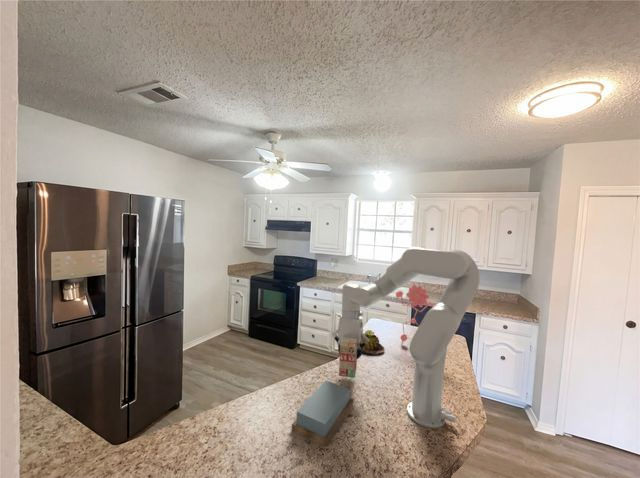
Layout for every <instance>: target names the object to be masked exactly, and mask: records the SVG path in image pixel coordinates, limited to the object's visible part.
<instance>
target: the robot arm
mask: <svg viewBox="0 0 640 478" xmlns="http://www.w3.org/2000/svg"><path fill="white" fill-rule="evenodd" d="M419 275H422V276H427V277H429V276H430V277H435V278H441V279H443V278H444V279H448V280H449V281H448V284H446V287H445V289H444V290H443V292H442V295H441V296H440V298H439V299H438V301H437V302H436V304H435V305H434V306H433V307H432V306H431V308H430V309H429V310H428V311H427V312H426V314H425V315H424V317H423V318H422V320H421V322H420V324H419V326H418V327H417V329H416V332H415V333H414V334H413V336H412V338H411V339H410V343H409V353H410V355H411V357H412V359H413V360H414V372H413V383H412V384H413V386H412V398H411V399H412V400H411V401H410V402H409V403H408V404H407V406H406V412H407V415H408V416H409V418H410V420H412V421H413V422H415V423H416V424H417V425H420V426H423V427H425V428H430V429H439V428H442V427H443V426H444V425H445V423H446V421H449V422H452V423H456V415H453V414H452V413H453V412H452V411H451V410H448V409H445V408H444V407H443V402H442V401H443V390H444V389H443V388H444V377H445V365H446V358H447V350H448V346H449V344H450V342H451V341H452V340H453V337H454V336H455V334H456V332H457V330H458V329H459V327H460V325H461V322H462V319H463V317H465V316H464V315H465V314H466V313H467V310H468V309H469V308H470V307H469V306H470V305H471V303H472V301H473V300H474V298H475V296H476V293H477V292H478V288H479V287H480V286H479V285H480V279H481V277H480V271H479V267H478V265H477V263H476V261H475V260H474V259H473V258H472V256H471V255H469V254H468V253H467V252H465V251H463V250H461V249H460V250H459V249H455V250H454V249H453V250H450V251H448V250H438V249H430V248H429V249H428V248H426V247H424V246H413V247H409V248H407V249H406V250H405V251H404V252H403V253H402V255H401V257H399V258H398V260H396V261H394V262H393V263H392V264H391V265H389V266H388V267H387V268H386V272H385V273H384V275H382V276H381V277H380V278H378V279H377V280H375V281H374V282H373V283H371V284H369V285H366V286H365V285H364V286H363V287H361V286H360V284H357V283H345V284H343V286H342V291H341V292H342V296H341V298H342V302H341V315H340V316H339V321H338V328H337V329H336V330H334V331H333V332H332V333H331V335H332V337H333V338H334V340H335V341H336V344H337V352H338V354H339V355H340V343H341V340H342V338H343V337H348V338H352V339H357V347H358V349H357V360H359V359H360V358H361V357H362V353H363V352H362V348H363V347H364V346H365V345H366V344H367V343H368V342H369V339H368V338H367V337H366V336H365V335H364V334H365V333H364V324H363V318H362V317H363V316H364V312H362V311H361V306H362V307H365V308H367V307H370V306H372V305H374V304H376V303H378V302H380V301H382V300H383V299H384V298H386V297H388V296H389V295H390V294H392V293H393V292H395V291H396V290H398V289H399V288H401V287H403V286H404V285H406V284H407V283H408V282H410V281H411V280H413V279H414V278H416V277H418V276H419ZM362 339H363V340H364V342H363V343H362V342H361V340H362Z"/></svg>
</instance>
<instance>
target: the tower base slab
mask: <svg viewBox="0 0 640 478" xmlns="http://www.w3.org/2000/svg"><path fill="white" fill-rule="evenodd" d="M354 402H355V401H354V398H351V397H350V401H349V402H348V403H347V405H346V406H345V408H344V409H343V411H342V412H341V414H340V415H339V417H338V418H337V420H336V421H335V423H334V424H333V426H332V427H331V429H330V430H329V432H328V433H327V435H326V436H325V437H323V436H320V435H318V434H316V433H314V432H312V431H310V430H308V429H306V428H304V427H302V426H300V425H298V424H296V419H295V420H294V421H293V423H292V424H291V431H292V432H294V433H296V434H298V435H300V436H301V437H303V438H306V439H308V440H310V441H312V442H315V443H316V444H319V445H321V446H323V447H324V448H326V447H327V446H328V445H329V443H330V442H331V440H332V439H333V437H334V436H335V435H336V432H337V431H338V430H339V429H340V427H341V425H342V424H343V423H344V422H345V420H346V418H347V416H348V415H349V413H350V412H351V411H352V409H354Z"/></svg>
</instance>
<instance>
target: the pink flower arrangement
mask: <svg viewBox="0 0 640 478" xmlns="http://www.w3.org/2000/svg"><path fill="white" fill-rule="evenodd" d="M408 291H409V292H407V293H406V296H407V298H408V302H409V303H412V304H411V305H410V304H409V305H408V304H404V301H403V295H404V292H403V291H402V290H399V291H397V292H396V293H395V297H396V298H397V299H400V298H401V305H402V306H405V307H411V308H412V309H414V310H415V313H414V315H413V316H414V317H413V318H411V319H410V320H409V321H407V322H403V323H402V329H403V330H402V331H403V332H405V327H404V325H405V324H408V323H412V324H416V325H417V326H418V327H419V326H420V324H418V323H417V320H416V315H417V314H418V312H419V313H422V312H423V311H424V310H426V308H427V307H428V306H429V305H430V307H431V308H432V307H433V306H435V305H434V304H433V303H432V302H431V301H429V302H428V299H429V295H428V294H427V289H426V288H423V286H422V285H419V286H416V284H413V285H412V287H409V289H408ZM424 305H426V306H424ZM416 306H417V307H420V308H422V309H421V310H420V309H418V308H416ZM408 339H410V340H412V338H410V337H408V335H407V334H405V333H403V334H402V335H400V340H401V344H400V345H401V346H403V343H404V342H406V341H407V340H408Z"/></svg>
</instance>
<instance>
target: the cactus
mask: <svg viewBox="0 0 640 478" xmlns="http://www.w3.org/2000/svg"><path fill="white" fill-rule="evenodd" d="M363 334H364V335H365V336H366V337H367V338H368V339H369V342H368V343H367V344H366V345H365V346H364V347H363V348H362V353H365V354H371V355H377V354H379V353H384V352H385V347H384V346H383V345H382V344H381V343H380V339H379V337H377V335H376V334H375V332H374V331H373V330H370V329H367V330H365V332H364V333H363ZM361 342H362V343H363V342H364V340H363V339H362V340H361Z"/></svg>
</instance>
